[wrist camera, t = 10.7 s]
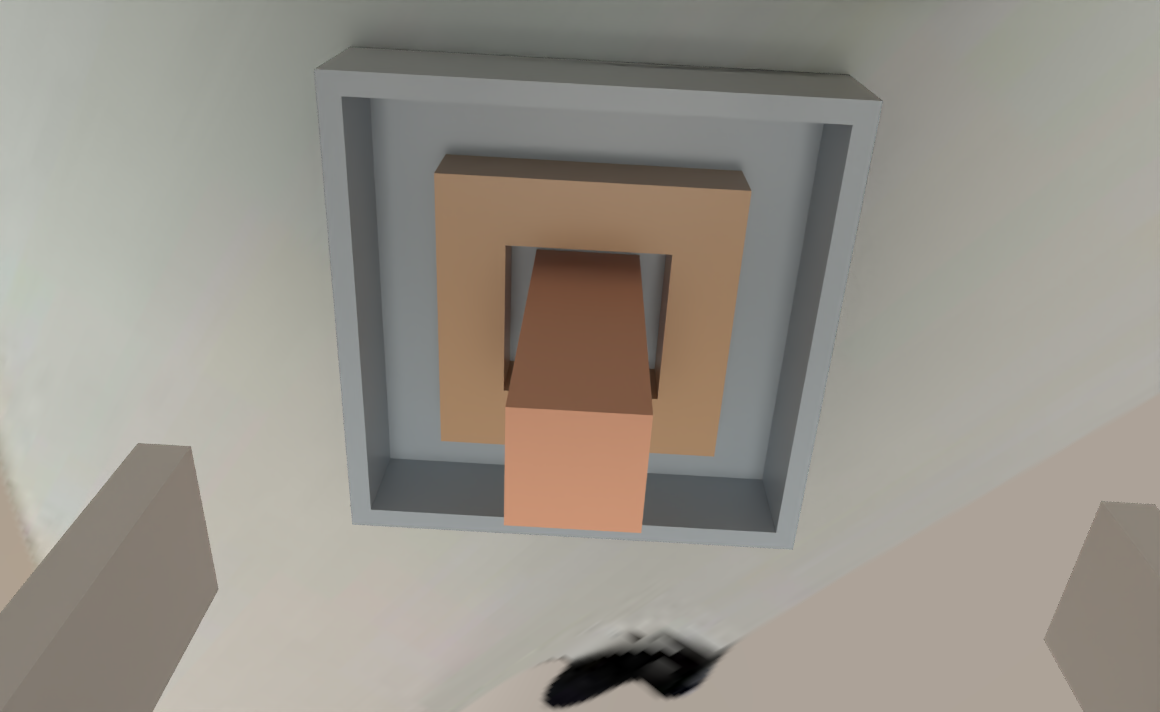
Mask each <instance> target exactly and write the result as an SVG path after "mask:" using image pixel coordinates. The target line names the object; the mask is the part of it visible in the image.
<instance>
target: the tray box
mask: <svg viewBox="0 0 1160 712" xmlns="http://www.w3.org/2000/svg"><path fill="white" fill-rule="evenodd" d="M314 73H315V85H316V97H317V108H318V120H319V132H320V144H321V156H322V168H323V180H324V192H325V204H326V216H327V228H328V239H329V251H330V263H331V275H332V287H333V299H334V311H335V323H336V335H337V347H338V359H339V370H340V382H341V394H342V406H343V418H344V430H345V442H346V454H347V466H348V478H349V489H350V501H351V513H352V524H354V525H372V526H389V527H407V528H424V529H442V530H459V531H477V532H494V533H512V534H529V535H547V536H564V537H582V538H599V539H617V540H634V541H652V542H669V543H687V544H704V545H722V546H740V547H757V548H775V549H792V550H793V546H794V541H795V536H796V531H797V526H798V521H799V516H800V511H801V506H802V501H803V496H804V491H805V486H806V481H807V476H808V472H809V467H810V462H811V457H812V452H813V447H814V442H815V437H816V432H817V427H818V422H819V417H820V412H821V407H822V402H823V397H824V392H825V387H826V382H827V377H828V372H829V367H830V362H831V357H832V352H833V347H834V342H835V337H836V332H837V327H838V322H839V317H840V312H841V307H842V302H843V297H844V292H845V287H846V282H847V277H848V273H849V268H850V263H851V258H852V253H853V248H854V243H855V238H856V233H857V228H858V223H859V218H860V213H861V208H862V203H863V198H864V193H865V188H866V183H867V178H868V173H869V168H870V163H871V158H872V153H873V148H874V143H875V138H876V133H877V128H878V123H879V118H880V113H881V108H882V103H883V101H882V100H881V99H880V98H878V97H877V96H876V95H875V94H873V93H872V92H871V91H869V90H868V89H867V88H866V87H864V86H863V85H862V84H860V83H859V82H858V81H857V80H855V79H854V78H853V77H851V76H850V75H843V74H825V73H808V72H790V71H772V70H754V69H736V68H718V67H700V66H683V65H665V64H647V63H629V62H611V61H593V60H575V59H558V58H540V57H522V56H504V55H486V54H468V53H450V52H433V51H415V50H397V49H379V48H361V47H349V48H348V49H346V50H344V51H343V52H341V53H340V54H338V55H336V56H335V57H333V58H331V59H330V60H328V61H327V62H325V63H323V64H322V65H320V66H318V67H317V68H315V69H314ZM537 249H541V250H558V251H576V252H594V253H612V254H629V255H640V267H641V279H642V290H643V302H644V314H645V326H646V338H647V349H648V361H649V373H650V385H651V396H652V408H653V422H652V431H651V441H650V451H649V461H648V471H647V481H646V491H645V501H644V511H643V520H642V530H641V533H630V532H613V531H595V530H578V529H560V528H542V527H525V526H507V525H504V475H505V406H506V401H507V396H508V391H509V386H510V381H511V376H512V371H513V366H514V361H515V356H516V351H517V346H518V341H519V336H520V331H521V326H522V321H523V316H524V311H525V306H526V301H527V295H528V290H529V285H530V280H531V275H532V270H533V265H534V260H535V255H536V250H537Z"/></svg>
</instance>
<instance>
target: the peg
mask: <svg viewBox="0 0 1160 712" xmlns="http://www.w3.org/2000/svg"><path fill="white" fill-rule="evenodd" d="M652 422H653V408H652V396H651V385H650V373H649V361H648V349H647V338H646V326H645V314H644V302H643V290H642V279H641V267H640V255H629V254H612V253H594V252H576V251H558V250H541V249H537V250H536V255H535V260H534V265H533V270H532V275H531V280H530V285H529V290H528V295H527V301H526V306H525V311H524V316H523V321H522V326H521V331H520V336H519V341H518V346H517V351H516V356H515V361H514V366H513V371H512V376H511V381H510V386H509V391H508V396H507V401H506V406H505V475H504V525H507V526H525V527H542V528H560V529H578V530H595V531H613V532H630V533H641V530H642V520H643V511H644V501H645V491H646V481H647V471H648V461H649V451H650V441H651V431H652Z"/></svg>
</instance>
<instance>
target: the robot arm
mask: <svg viewBox="0 0 1160 712" xmlns="http://www.w3.org/2000/svg"><path fill="white" fill-rule="evenodd" d="M217 591H218V584H217V579H216V574H215V569H214V563H213V558H212V553H211V548H210V543H209V538H208V532H207V527H206V522H205V517H204V512H203V507H202V501H201V496H200V491H199V486H198V481H197V476H196V470H195V465H194V460H193V455H192V450H191V446H176V445H160V444H143V443H138V444H137V445H136V446H135V447H134V449H133V450H132V451H131V452H130V454H129V455H128V456H127V457H126V459H125V460H124V461H123V462H122V464H121V465H120V466H119V467H118V468H117V470H116V471H115V472H114V473H113V475H112V476H111V477H110V478H109V480H108V481H107V482H106V483H105V484H104V486H103V487H102V488H101V489H100V491H99V492H98V493H97V494H96V496H95V497H94V498H93V499H92V500H91V502H90V503H89V504H88V505H87V507H86V508H85V509H84V510H83V512H82V513H81V514H80V515H79V517H78V518H77V519H76V520H75V521H74V523H73V524H72V525H71V526H70V528H69V529H68V530H67V531H66V533H65V534H64V535H63V536H62V537H61V539H60V540H59V541H58V542H57V544H56V545H55V546H54V547H53V549H52V550H51V551H50V552H49V553H48V555H47V556H46V557H45V558H44V560H43V561H42V562H41V563H40V565H39V566H38V567H37V568H36V570H35V571H34V572H33V573H32V574H31V576H30V577H29V578H28V579H27V581H26V582H25V583H24V584H23V586H22V587H21V588H20V589H19V590H18V592H17V593H16V594H15V595H14V597H13V598H12V599H11V601H10V602H9V603H8V604H7V605H6V607H5V608H4V609H3V610H2V611H1V613H0V712H153V710H154V708H155V706H156V704H157V702H158V700H159V699H160V697H161V695H162V693H163V691H164V689H165V687H166V686H167V684H168V682H169V680H170V678H171V676H172V674H173V673H174V671H175V669H176V667H177V665H178V663H179V661H180V660H181V658H182V656H183V654H184V652H185V650H186V649H187V647H188V645H189V643H190V641H191V639H192V637H193V636H194V634H195V632H196V630H197V628H198V626H199V624H200V623H201V621H202V619H203V617H204V615H205V613H206V611H207V610H208V608H209V606H210V604H211V602H212V600H213V598H214V597H215V595H216V593H217ZM1044 641H1045V643H1046V644H1047V646H1048V648H1049V650H1050V651H1051V653H1052V655H1053V657H1054V658H1055V661H1056V663H1057V664H1058V666H1059V668H1060V670H1061V672H1062V673H1063V675H1064V677H1065V679H1066V681H1067V683H1068V684H1069V686H1070V688H1071V690H1072V692H1073V693H1074V695H1075V697H1076V699H1077V701H1078V703H1079V704H1080V706H1081V708H1082V710H1083V712H1160V510H1159V509H1158V508H1157V507H1156V505H1155V504H1138V503H1121V502H1105V501H1101V503H1100V506H1099V508H1098V511H1097V513H1096V516H1095V518H1094V520H1093V523H1092V525H1091V527H1090V530H1089V532H1088V535H1087V537H1086V540H1085V542H1084V544H1083V547H1082V549H1081V552H1080V554H1079V557H1078V559H1077V561H1076V564H1075V566H1074V568H1073V571H1072V573H1071V576H1070V578H1069V580H1068V583H1067V585H1066V588H1065V590H1064V592H1063V595H1062V597H1061V600H1060V602H1059V604H1058V607H1057V610H1056V612H1055V614H1054V616H1053V619H1052V621H1051V624H1050V626H1049V628H1048V631H1047V633H1046V636H1045V638H1044Z"/></svg>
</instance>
